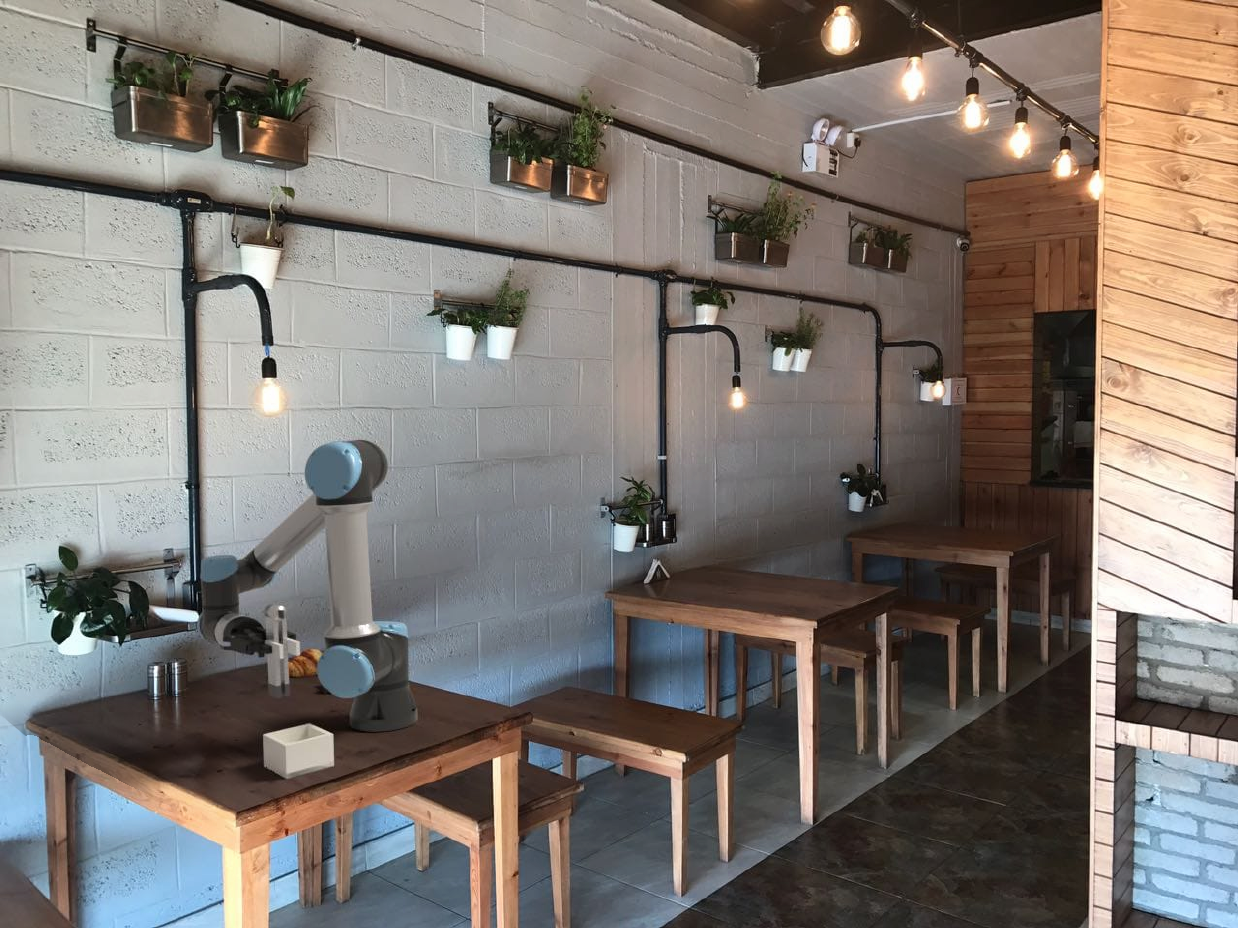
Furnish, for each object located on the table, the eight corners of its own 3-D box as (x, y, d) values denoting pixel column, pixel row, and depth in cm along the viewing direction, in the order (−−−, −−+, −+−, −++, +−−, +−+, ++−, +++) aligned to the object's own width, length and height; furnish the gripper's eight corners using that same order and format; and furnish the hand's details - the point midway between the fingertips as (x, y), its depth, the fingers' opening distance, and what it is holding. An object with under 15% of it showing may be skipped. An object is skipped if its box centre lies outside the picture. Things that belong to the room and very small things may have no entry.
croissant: (350, 676, 282) (345, 649, 285) (361, 666, 274) (356, 638, 277) (273, 687, 270) (269, 658, 272) (283, 677, 262) (279, 647, 265)
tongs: (282, 691, 203) (278, 602, 202) (293, 696, 199) (289, 605, 198) (268, 694, 201) (263, 604, 200) (278, 699, 197) (274, 607, 196)
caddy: (310, 753, 207) (309, 723, 207) (334, 765, 200) (333, 733, 200) (264, 766, 200) (263, 734, 200) (286, 778, 193) (285, 745, 193)
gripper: (276, 644, 219) (327, 661, 202) (203, 657, 208) (251, 677, 191) (274, 610, 218) (326, 624, 201) (201, 622, 207) (249, 638, 190)
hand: (289, 650), depth 196 cm, fingers closed on tongs, 3 cm apart
